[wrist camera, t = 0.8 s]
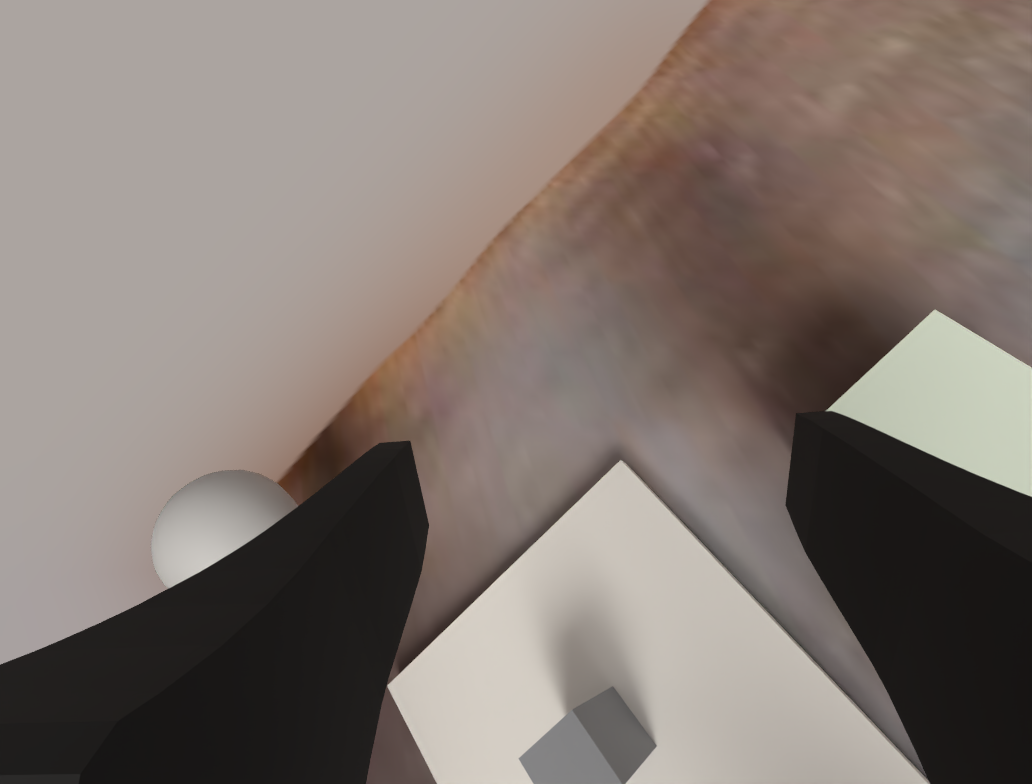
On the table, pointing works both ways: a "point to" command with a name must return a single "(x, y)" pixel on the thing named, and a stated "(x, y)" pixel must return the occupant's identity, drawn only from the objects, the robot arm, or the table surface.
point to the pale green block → (951, 401)
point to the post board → (631, 669)
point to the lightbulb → (214, 521)
